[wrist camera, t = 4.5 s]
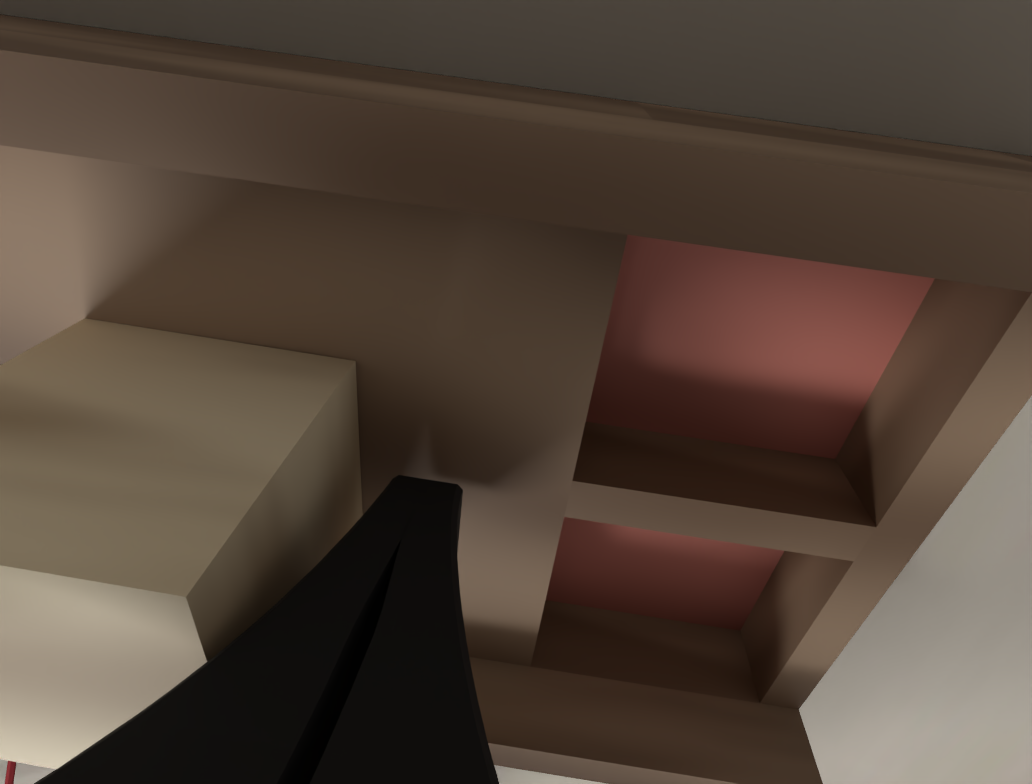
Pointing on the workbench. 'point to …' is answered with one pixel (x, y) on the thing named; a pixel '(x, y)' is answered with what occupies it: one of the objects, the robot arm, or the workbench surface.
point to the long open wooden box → (561, 350)
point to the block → (154, 515)
